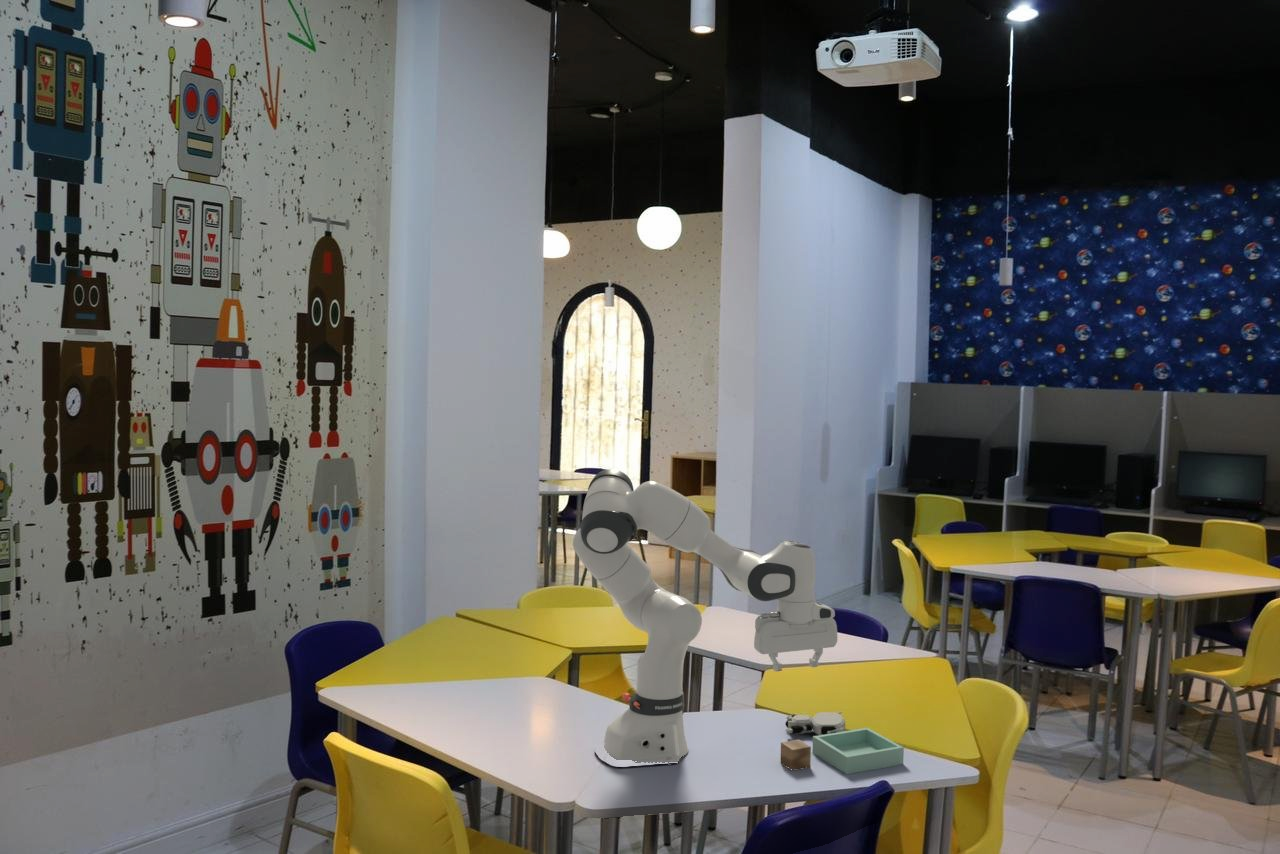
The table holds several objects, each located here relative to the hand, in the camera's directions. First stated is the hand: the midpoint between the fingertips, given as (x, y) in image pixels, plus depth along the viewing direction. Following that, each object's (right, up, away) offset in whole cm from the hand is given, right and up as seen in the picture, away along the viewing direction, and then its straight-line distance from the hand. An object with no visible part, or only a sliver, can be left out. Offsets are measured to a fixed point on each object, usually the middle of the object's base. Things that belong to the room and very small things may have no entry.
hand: (795, 668), depth 238 cm
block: (0, -23, -1) cm, 23 cm away
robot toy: (+8, -22, +20) cm, 31 cm away
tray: (+15, -22, +4) cm, 27 cm away
